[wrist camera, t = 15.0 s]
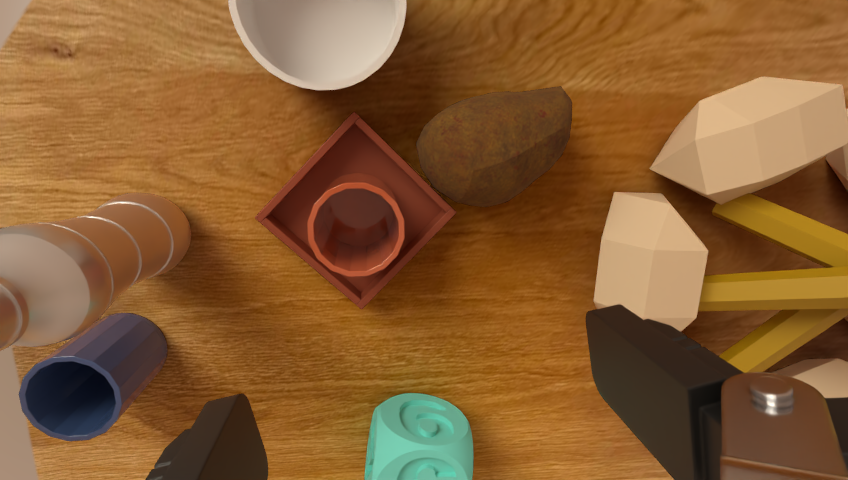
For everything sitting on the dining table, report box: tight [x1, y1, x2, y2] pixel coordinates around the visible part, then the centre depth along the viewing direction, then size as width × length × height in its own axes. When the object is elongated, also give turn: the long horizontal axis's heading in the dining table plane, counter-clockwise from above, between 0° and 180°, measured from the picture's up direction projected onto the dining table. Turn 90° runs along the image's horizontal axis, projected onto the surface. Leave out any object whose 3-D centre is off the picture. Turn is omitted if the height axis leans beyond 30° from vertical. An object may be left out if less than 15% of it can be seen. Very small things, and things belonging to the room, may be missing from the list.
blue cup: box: [19, 313, 167, 441], centre depth 37 cm, size 6×6×8 cm
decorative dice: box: [364, 393, 473, 480], centre depth 41 cm, size 8×8×8 cm
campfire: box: [594, 77, 848, 398], centre depth 37 cm, size 35×34×17 cm
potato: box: [416, 86, 572, 207], centre depth 36 cm, size 8×12×9 cm
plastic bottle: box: [0, 193, 191, 351], centre depth 29 cm, size 6×7×20 cm
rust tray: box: [255, 112, 457, 309], centre depth 39 cm, size 11×11×2 cm
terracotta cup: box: [307, 172, 405, 277], centre depth 36 cm, size 6×6×8 cm
